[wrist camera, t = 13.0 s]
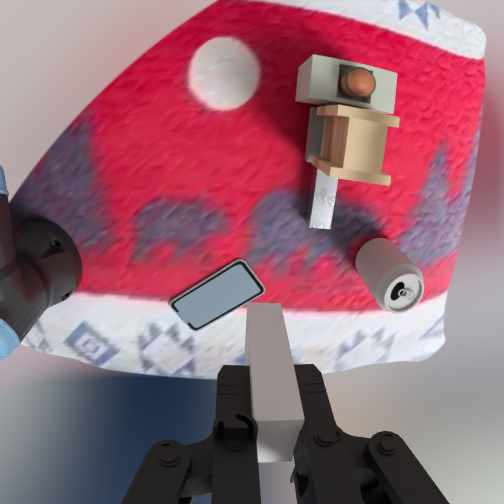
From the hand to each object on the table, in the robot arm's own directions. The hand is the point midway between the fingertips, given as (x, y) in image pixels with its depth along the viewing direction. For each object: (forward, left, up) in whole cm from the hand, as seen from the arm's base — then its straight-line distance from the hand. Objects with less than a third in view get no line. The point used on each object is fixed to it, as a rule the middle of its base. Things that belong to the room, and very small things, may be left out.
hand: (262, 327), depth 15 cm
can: (+21, -10, -33) cm, 40 cm away
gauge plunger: (+10, +15, -25) cm, 30 cm away
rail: (+10, +4, -33) cm, 34 cm away
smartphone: (-4, -19, -33) cm, 38 cm away
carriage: (+10, +8, -33) cm, 35 cm away
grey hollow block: (+10, +15, -33) cm, 37 cm away
